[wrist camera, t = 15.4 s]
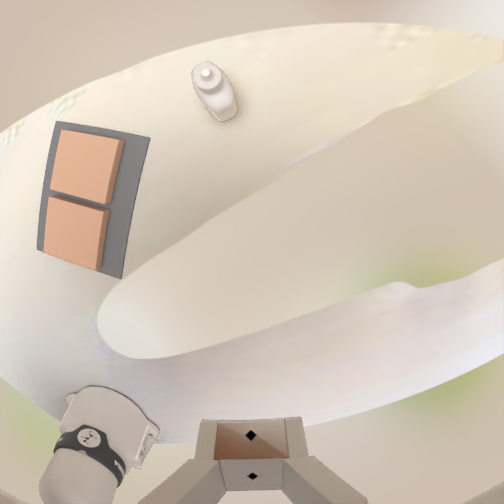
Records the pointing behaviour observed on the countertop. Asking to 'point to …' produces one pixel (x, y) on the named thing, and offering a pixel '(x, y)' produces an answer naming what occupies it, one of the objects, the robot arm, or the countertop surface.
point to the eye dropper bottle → (214, 90)
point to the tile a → (75, 231)
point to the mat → (121, 196)
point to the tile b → (86, 165)
